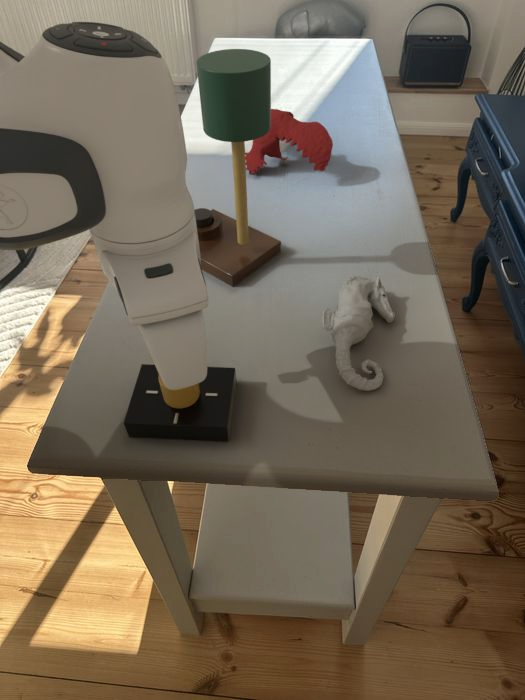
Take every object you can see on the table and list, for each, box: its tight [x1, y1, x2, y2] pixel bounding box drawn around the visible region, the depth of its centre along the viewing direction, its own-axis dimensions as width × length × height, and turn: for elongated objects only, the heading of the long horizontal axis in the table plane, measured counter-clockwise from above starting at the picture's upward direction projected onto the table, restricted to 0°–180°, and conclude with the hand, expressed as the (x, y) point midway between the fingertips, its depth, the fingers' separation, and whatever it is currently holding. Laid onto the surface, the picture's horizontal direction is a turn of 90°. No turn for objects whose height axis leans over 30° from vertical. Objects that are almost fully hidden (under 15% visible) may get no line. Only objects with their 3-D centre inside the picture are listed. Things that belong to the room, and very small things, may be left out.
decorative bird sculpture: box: [245, 108, 334, 175], centre depth 100 cm, size 28×9×15 cm
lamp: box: [195, 48, 272, 245], centre depth 68 cm, size 9×9×26 cm
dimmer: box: [123, 363, 237, 443], centre depth 59 cm, size 12×9×3 cm
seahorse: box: [321, 275, 396, 392], centre depth 66 cm, size 5×12×20 cm
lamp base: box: [197, 208, 282, 287], centre depth 81 cm, size 16×12×4 cm
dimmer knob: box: [158, 375, 200, 408], centre depth 56 cm, size 4×4×4 cm
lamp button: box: [194, 207, 213, 228], centre depth 81 cm, size 4×4×2 cm
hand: (172, 349), depth 52 cm, fingers open, 8 cm apart
